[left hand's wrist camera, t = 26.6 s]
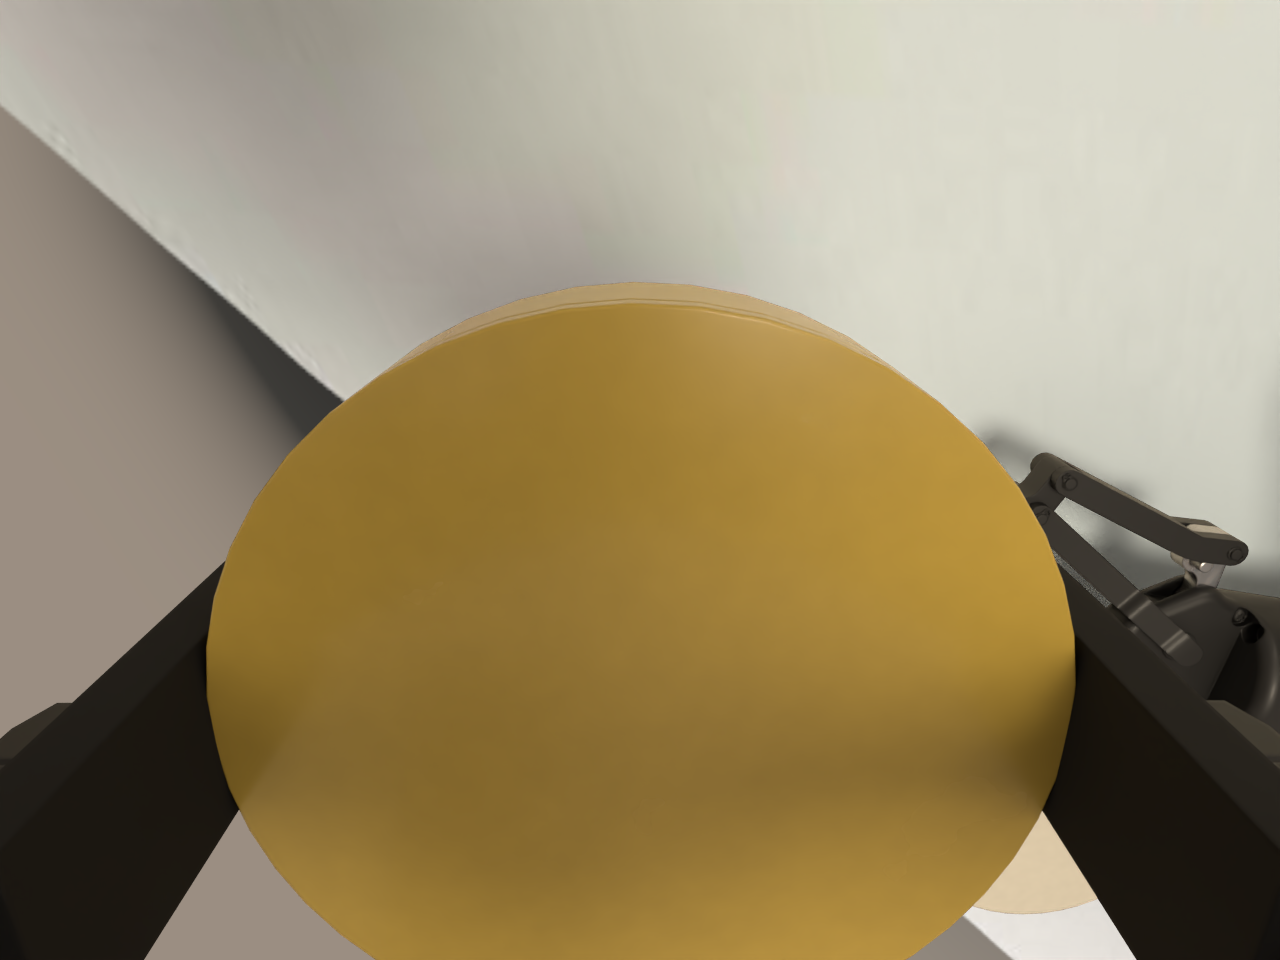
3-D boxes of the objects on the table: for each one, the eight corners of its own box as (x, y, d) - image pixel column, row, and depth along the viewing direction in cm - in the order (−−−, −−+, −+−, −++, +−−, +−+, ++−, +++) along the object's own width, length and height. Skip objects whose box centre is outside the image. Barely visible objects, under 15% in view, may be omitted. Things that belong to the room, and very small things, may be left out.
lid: (284, 900, 14) (231, 1005, 12) (249, 232, 10) (164, 244, 8) (915, 953, 14) (953, 1063, 13) (1112, 333, 11) (1209, 365, 9)
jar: (755, 574, 45) (831, 830, 27) (880, 436, 43) (1054, 620, 25) (888, 669, 47) (1039, 963, 30) (1016, 543, 45) (1267, 784, 27)
